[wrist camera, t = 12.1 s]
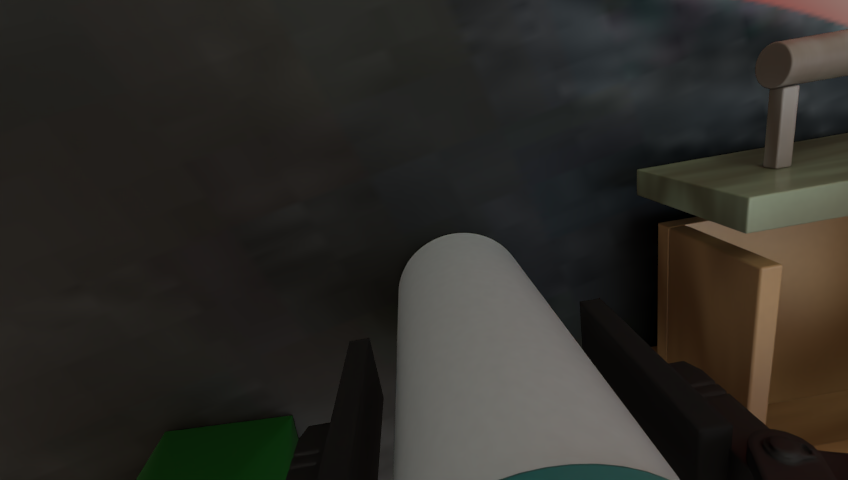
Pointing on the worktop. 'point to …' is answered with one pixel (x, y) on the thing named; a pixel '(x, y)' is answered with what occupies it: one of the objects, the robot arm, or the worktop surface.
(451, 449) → the container
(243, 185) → the worktop surface
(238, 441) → the milk carton
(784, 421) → the drawer
